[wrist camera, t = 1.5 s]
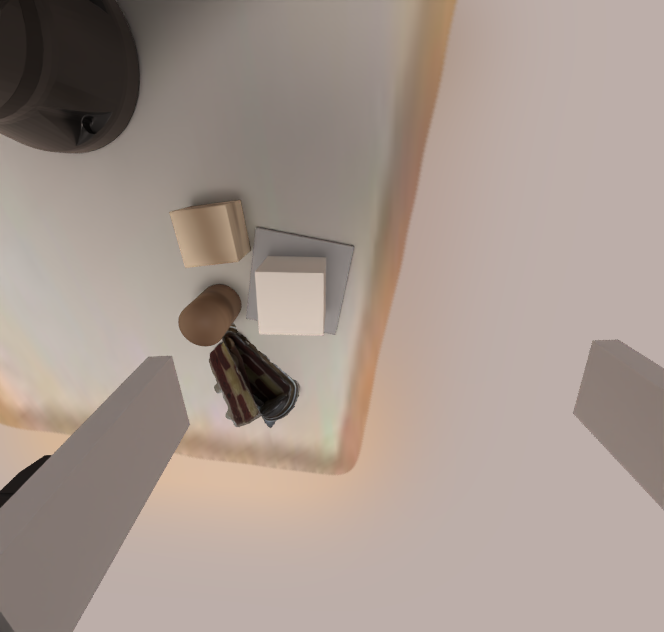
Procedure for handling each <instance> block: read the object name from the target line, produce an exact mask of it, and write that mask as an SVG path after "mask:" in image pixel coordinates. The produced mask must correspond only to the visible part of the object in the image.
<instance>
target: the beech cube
mask: <svg viewBox="0 0 664 632" xmlns="http://www.w3.org/2000/svg"><path fill="white" fill-rule="evenodd" d="M169 213H170V216H171V220H172V223H173V227H174V230H175V234H176V237H177V241H178V244H179V248H180V251H181V255H182V258H183V262H184V265H185V268H189V267H197V266H206V265H215V264H223V263H232V262H239V261H240V260H241V259H242V258H243V257H244V256H245V255H246V254H247V253H248V252H250V251H251V248H250V243H249V238H248V234H247V229H246V224H245V219H244V215H243V210H242V205H241V201H240V200H237V201H229V202H221V203H213V204H205V205H198V206H191V207H187V208H183V209H179V210H175V211H171V212H169Z"/></svg>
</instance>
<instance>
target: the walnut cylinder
mask: <svg viewBox="0 0 664 632" xmlns="http://www.w3.org/2000/svg"><path fill="white" fill-rule="evenodd" d="M240 310H241V300H240V297H239V295H238V294H237V293H236V292H235V291H234V290H233V289H232V288H230V287H229V286H226V285H222V284H216V285H212V286H210V287H208V288H207V289H206V290H205V291H204V292H202V293H201V294H200V295H199V296H198V297H197V298H196V299H195V300H194V301H192V302H191V303H190V304H189V305H188V306H187V307H186V308H185V309H184V310H183V311H182V312H181V314H180V316H179V328H180V331H181V333H182V334H183V335H184V337H185V338H186V339H187V340H189V341H190V342H192V343H194V344H196V345H199V346H211V345H214V344H216V343H218V342H219V341H220V340H221V339H222V337H223V336H224V335H225V333H226V332H227V330H228V329H229V327H230V326H231V324H232V323H233V322H234V320H235V319H236V317H237V316H238V314H239V313H240Z"/></svg>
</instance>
